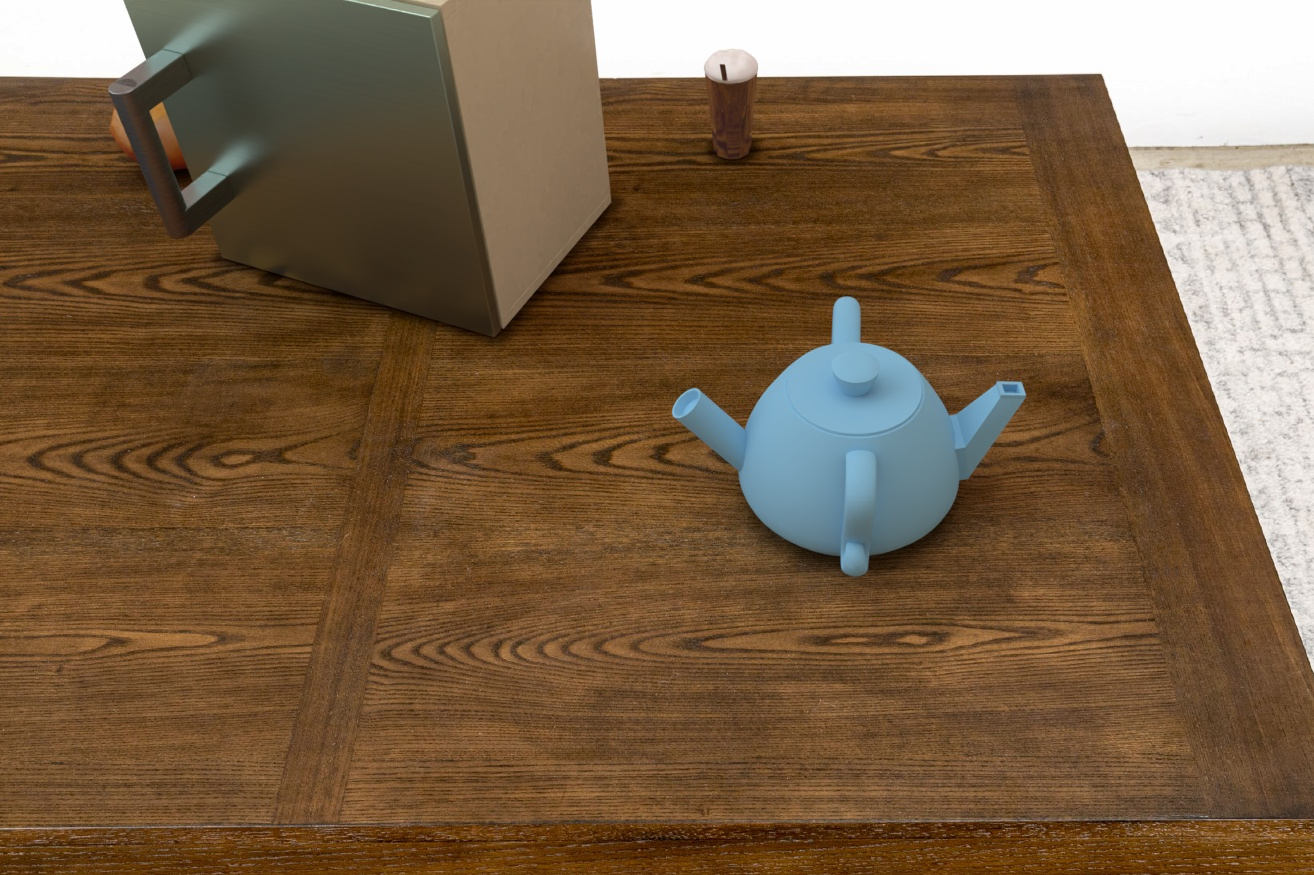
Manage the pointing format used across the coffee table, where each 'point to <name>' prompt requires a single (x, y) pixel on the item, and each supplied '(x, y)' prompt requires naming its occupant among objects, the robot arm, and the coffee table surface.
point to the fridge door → (315, 146)
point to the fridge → (528, 131)
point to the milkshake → (731, 100)
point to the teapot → (852, 446)
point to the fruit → (163, 131)
